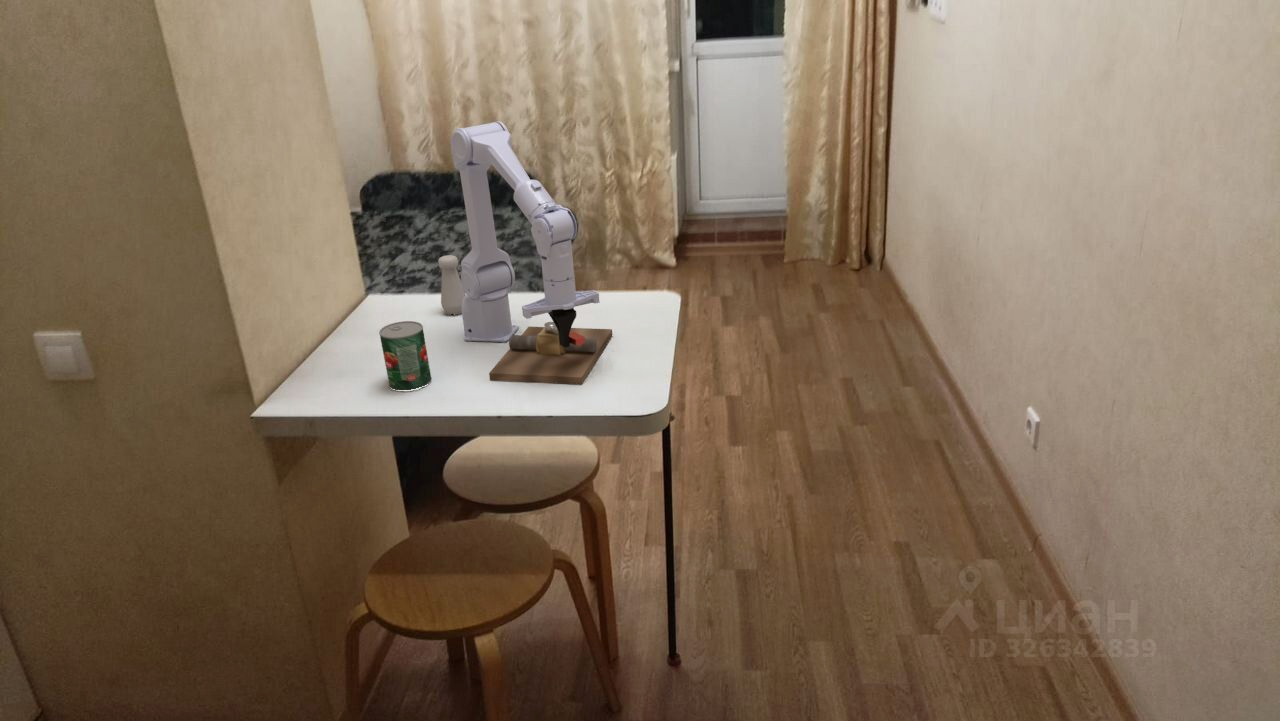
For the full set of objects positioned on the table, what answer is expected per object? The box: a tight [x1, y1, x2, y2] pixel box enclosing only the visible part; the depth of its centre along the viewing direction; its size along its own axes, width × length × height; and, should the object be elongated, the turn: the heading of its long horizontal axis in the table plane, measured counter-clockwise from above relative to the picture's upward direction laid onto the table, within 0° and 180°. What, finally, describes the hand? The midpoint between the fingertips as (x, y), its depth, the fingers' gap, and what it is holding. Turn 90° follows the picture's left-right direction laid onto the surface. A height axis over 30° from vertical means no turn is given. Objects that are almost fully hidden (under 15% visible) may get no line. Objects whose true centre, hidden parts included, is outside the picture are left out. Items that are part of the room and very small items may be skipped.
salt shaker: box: [437, 254, 466, 316], centre depth 205 cm, size 6×6×13 cm
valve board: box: [488, 326, 613, 386], centre depth 180 cm, size 18×23×6 cm
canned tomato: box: [378, 320, 433, 390], centre depth 172 cm, size 8×8×11 cm
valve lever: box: [544, 321, 585, 346], centre depth 175 cm, size 2×11×1 cm, turn 38°
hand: (565, 345), depth 173 cm, fingers closed, pressing on valve lever
